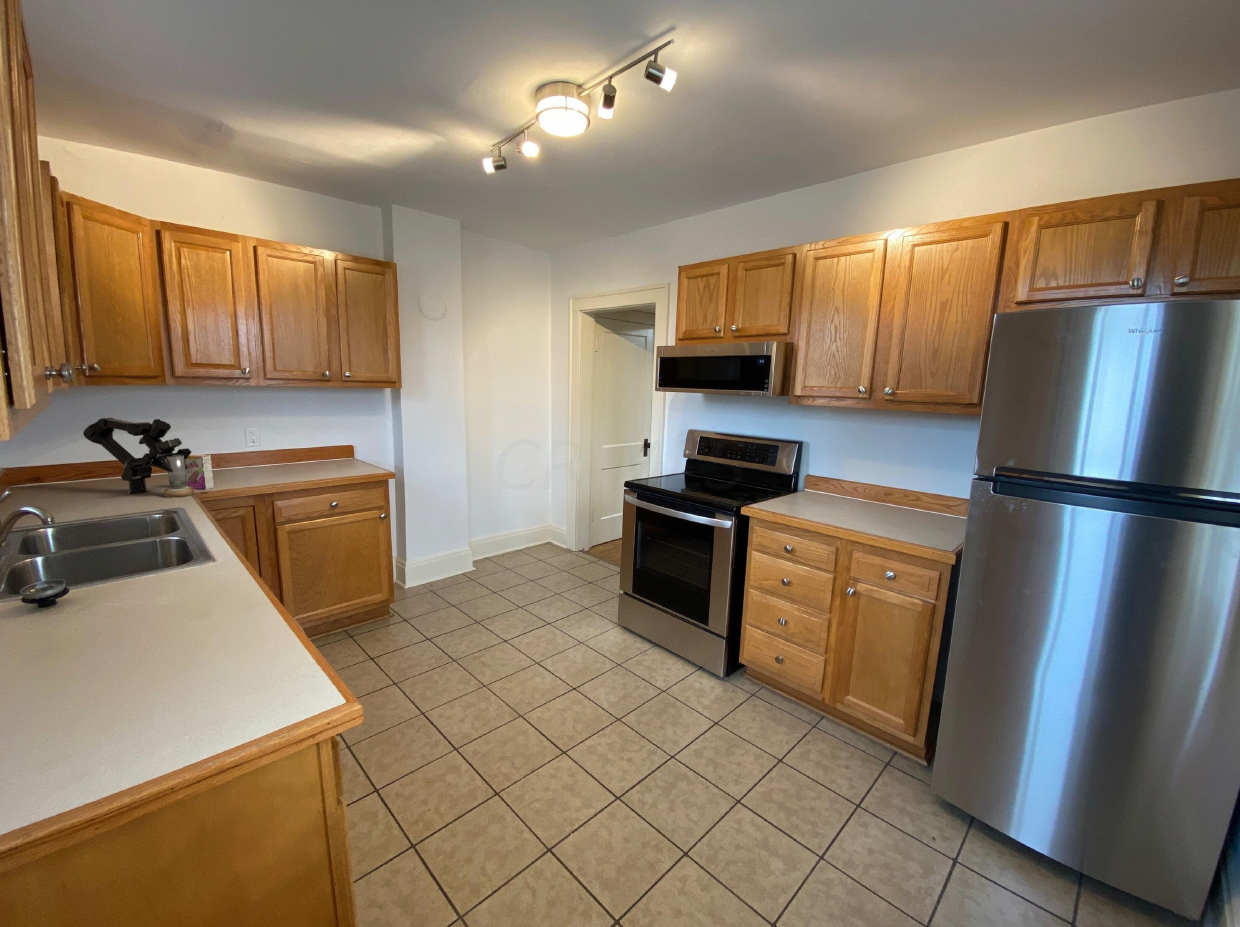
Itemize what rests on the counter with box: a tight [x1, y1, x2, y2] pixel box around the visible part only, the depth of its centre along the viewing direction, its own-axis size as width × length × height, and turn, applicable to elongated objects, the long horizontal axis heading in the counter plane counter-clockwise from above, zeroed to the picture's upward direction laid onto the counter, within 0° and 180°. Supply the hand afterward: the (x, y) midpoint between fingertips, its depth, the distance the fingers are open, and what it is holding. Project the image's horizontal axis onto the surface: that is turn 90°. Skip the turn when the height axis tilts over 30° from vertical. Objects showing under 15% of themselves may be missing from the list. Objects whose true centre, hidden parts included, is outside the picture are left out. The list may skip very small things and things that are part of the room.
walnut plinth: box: [163, 486, 195, 498], centre depth 229 cm, size 10×10×3 cm
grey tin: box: [165, 455, 187, 487], centre depth 227 cm, size 6×6×13 cm
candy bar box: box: [184, 453, 215, 490], centre depth 242 cm, size 11×5×16 cm, turn 84°
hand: (179, 470), depth 227 cm, fingers closed on grey tin, 6 cm apart
